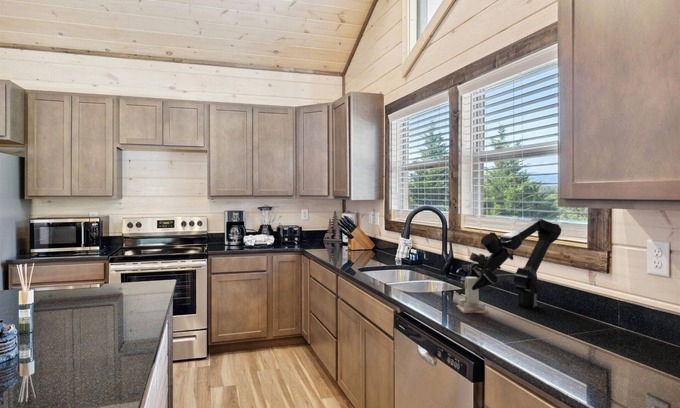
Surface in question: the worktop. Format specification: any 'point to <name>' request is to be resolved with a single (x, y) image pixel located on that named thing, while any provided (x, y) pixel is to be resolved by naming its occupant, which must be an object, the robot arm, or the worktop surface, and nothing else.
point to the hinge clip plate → (471, 307)
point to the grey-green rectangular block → (470, 294)
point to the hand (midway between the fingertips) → (468, 286)
